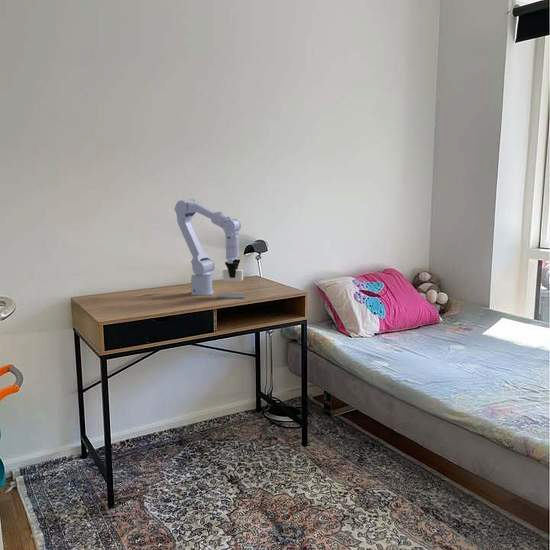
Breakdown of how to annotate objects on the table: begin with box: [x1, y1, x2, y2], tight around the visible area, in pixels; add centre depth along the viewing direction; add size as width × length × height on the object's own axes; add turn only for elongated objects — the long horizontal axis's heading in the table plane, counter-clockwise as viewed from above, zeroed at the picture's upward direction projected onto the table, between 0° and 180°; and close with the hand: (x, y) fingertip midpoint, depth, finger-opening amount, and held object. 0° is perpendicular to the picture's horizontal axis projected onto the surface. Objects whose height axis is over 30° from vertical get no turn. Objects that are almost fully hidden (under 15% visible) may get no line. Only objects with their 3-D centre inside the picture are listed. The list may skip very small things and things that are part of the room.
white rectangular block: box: [222, 269, 244, 282], centre depth 244 cm, size 4×8×4 cm, turn 85°
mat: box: [216, 292, 247, 299], centre depth 246 cm, size 12×9×1 cm
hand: (233, 276), depth 244 cm, fingers closed on white rectangular block, 4 cm apart
